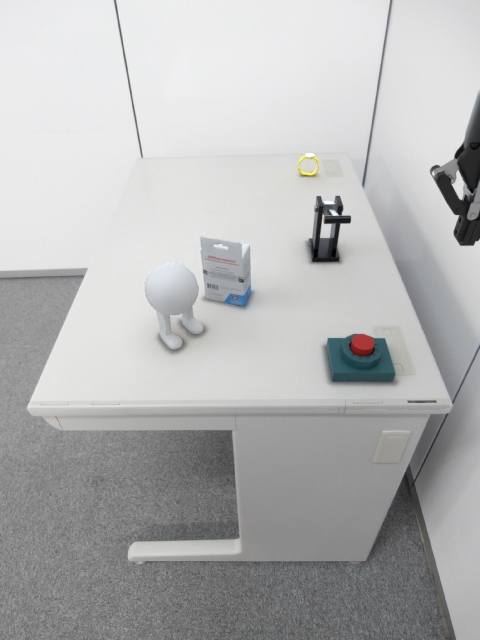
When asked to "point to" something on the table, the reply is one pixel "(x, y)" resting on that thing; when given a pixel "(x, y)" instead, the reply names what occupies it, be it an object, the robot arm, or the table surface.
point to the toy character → (173, 299)
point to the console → (359, 361)
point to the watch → (308, 156)
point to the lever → (334, 214)
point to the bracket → (325, 246)
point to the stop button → (362, 345)
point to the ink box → (226, 270)
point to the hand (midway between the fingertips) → (464, 242)
